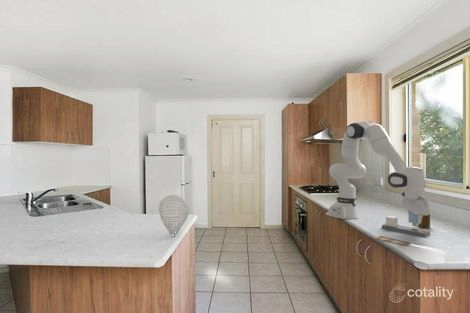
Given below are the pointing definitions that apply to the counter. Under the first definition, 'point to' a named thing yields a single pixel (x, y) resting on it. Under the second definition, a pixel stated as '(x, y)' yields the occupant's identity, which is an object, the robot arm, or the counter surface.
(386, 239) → the oak pad
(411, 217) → the light blue block
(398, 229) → the power strip
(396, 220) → the plug
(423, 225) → the condiment
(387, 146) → the robot arm
